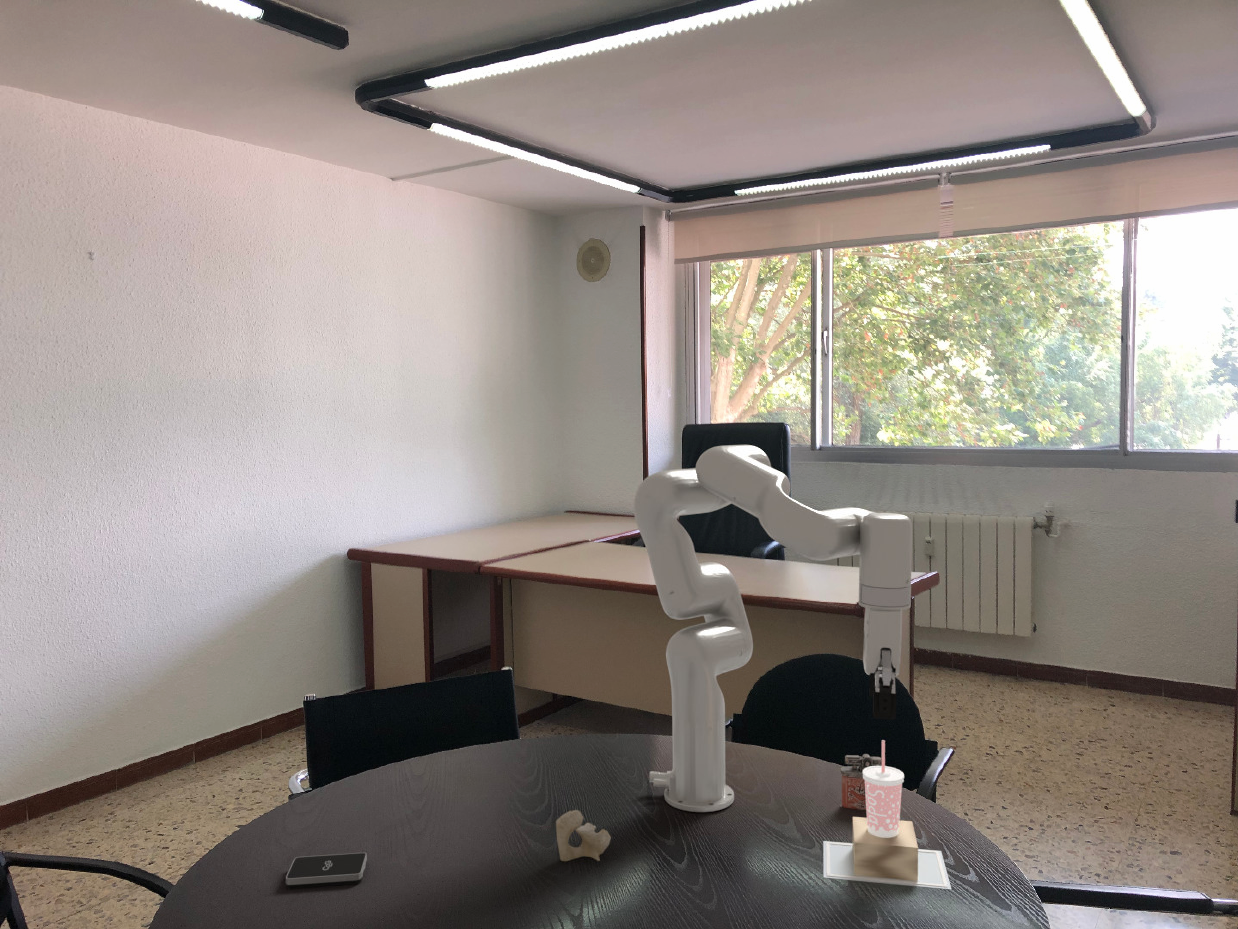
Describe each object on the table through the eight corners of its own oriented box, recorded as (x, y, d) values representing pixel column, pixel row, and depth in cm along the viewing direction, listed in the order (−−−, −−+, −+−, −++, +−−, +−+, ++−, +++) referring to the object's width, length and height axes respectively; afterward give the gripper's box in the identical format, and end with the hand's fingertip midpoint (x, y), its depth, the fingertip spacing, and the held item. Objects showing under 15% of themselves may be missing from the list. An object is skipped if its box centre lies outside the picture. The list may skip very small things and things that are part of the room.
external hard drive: (361, 887, 139) (360, 874, 139) (284, 892, 138) (283, 879, 138) (367, 864, 146) (367, 852, 146) (294, 870, 145) (294, 857, 145)
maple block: (854, 875, 138) (854, 842, 138) (852, 847, 147) (852, 816, 147) (917, 881, 136) (918, 847, 136) (912, 852, 145) (912, 821, 145)
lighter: (886, 808, 164) (886, 752, 163) (889, 816, 161) (889, 759, 160) (839, 807, 165) (839, 751, 164) (842, 815, 161) (842, 758, 161)
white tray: (823, 884, 138) (823, 876, 138) (823, 847, 149) (823, 840, 149) (951, 896, 134) (951, 888, 134) (941, 857, 146) (941, 850, 146)
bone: (616, 833, 152) (607, 795, 146) (613, 870, 146) (605, 831, 141) (564, 835, 153) (554, 797, 147) (560, 871, 147) (549, 833, 142)
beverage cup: (853, 826, 143) (854, 737, 143) (886, 819, 146) (886, 731, 145) (879, 843, 138) (879, 750, 137) (912, 835, 140) (913, 744, 139)
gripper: (856, 583, 149) (854, 689, 150) (861, 607, 132) (858, 725, 133) (905, 586, 147) (903, 692, 148) (916, 609, 130) (913, 729, 131)
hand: (882, 707), depth 141 cm, fingers open, 9 cm apart
